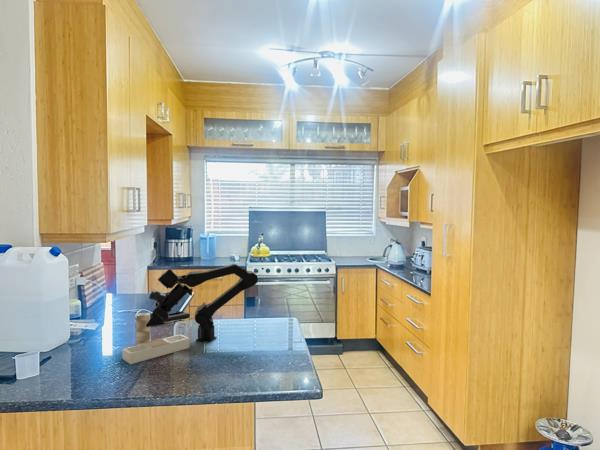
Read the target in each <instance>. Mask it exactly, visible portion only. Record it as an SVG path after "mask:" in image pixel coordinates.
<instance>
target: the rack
mask: <svg viewBox="0 0 600 450" xmlns="http://www.w3.org/2000/svg"><path fill="white" fill-rule="evenodd" d="M189 348H190V337H188V336H185V335H183V334H181V333H180V334H176V335H171V336H168V337H164V338H162V337H160V338H157V339H156V338H155V339H151V341H148V342H144V343H143V344H139V345H137V344H136V345H135V344H134V345H132V346H128V347H124V348H122V349H121V350H122V352H121V353H122V357H121V359H122V360H124V361H125V362H126V363H128V364H129V365H134V364H137V363H140V362H144V361H147V360H151V359H154V358H158V357H161V356H164V355H169V354H171V353H176V352H178V351H183V350H186V349H189Z"/></svg>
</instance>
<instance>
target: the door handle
mask: <svg viewBox="0 0 600 450" xmlns="http://www.w3.org/2000/svg"><path fill="white" fill-rule="evenodd" d="M190 317H191V314H190V312H185V311H181V310H179V311H175V312H171V313H169V317H168V318H167V319H166V320H165V321H162V322H159V323H157V324H154V325H153V326H156V325H162V324H169V323H172V322H173V323H174V322H180V321H181V320H186V319H189V318H190Z"/></svg>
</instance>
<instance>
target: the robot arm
mask: <svg viewBox="0 0 600 450" xmlns="http://www.w3.org/2000/svg"><path fill="white" fill-rule="evenodd" d="M230 275H235V276H237V277H238V278H239V279H238V280H237V281H236V282H235V284H233V285H232V286H231V287H229V288H228V289H227V290H225V291H224V292H223V293H221V295H219V296H218V297H216V298H215V299H214V300H212V301H211V302H209V303H207V304H206V302H203V303H202V304H201V305H200V306H197V307H196V310H195V312H194V320H195V323H196V324H198V325H197V326H198V328H197V338H196V339H195V340H196V342H197V341H198V342H203V343H210V342H213V341H214V340H215V339H217V338H218V337H217V336H215V325H214V318H213V316H214V315H215V313H216V312H217V311H218V310H219V309H221V308H222V307H223V306H225V305H226V304H227V303H228V302H230V301H231V300H233V298H234V297H236V296H238V294H240V293H241V292H243V291H245V290H248V289H250V288H252V287H253V286H256V285H257V283H258V282H259V281H258V279H259V278H258V275H257V274H256V273H255V272H254V271H252V270H246V269H245V268H242V267H241V266H239V265H238V264H237V263H230V264H229V265H228V264H227V265H225V266H221V267H217V268H213V269H209V270H205V271H203V270H197V271H195V270H194V271H189V272H188V273H186V274H183V275H177V274H176V273H175V272H174V271H173V270H172V269H171V268H168V269H167V270H165V272H162V274H161V275H160V276H159V277H158V279H157V281H158V282H159V283H160V284H161V285H162V286H163V287H165V288H166V289H167V290H168V289H171V290H170V291H168V292H166V293H164V292H162V291H159V290H157V289H154V288H153V289H152V290H151V292H150V294H149V295H148V299H150V300H153V301H156V303H155V307H154V309H153V310H152V313H150V320H149V322H148V323H147V324H146V326H147V327H150V328H151V327H152V326H155V325H154V324H157V323H159V322H162V321H165V320H166V319H167V318H168V317H169V314H170V312H171V311H172V309H173V308H174V307H176V306H177V305H179V302H180V301H181V300H182V299H183V298H184V297H185V296H187V294H188V295H189V296H190V297H191V296H193V288H195V287H197V286H199V285H201V284H203V283H205V282H207V281H209V280H215V279H218V278H222V277H225V276H230ZM157 325H158V324H157Z"/></svg>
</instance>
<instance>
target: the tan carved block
mask: <svg viewBox="0 0 600 450" xmlns="http://www.w3.org/2000/svg"><path fill="white" fill-rule="evenodd" d="M150 316H151V312H141V313H139V312H138V313H137V314H136V316H135V318H136V319H135V321H136V324H135V325H136V328H135V329H136V345H139V344H143V343H144V342H148V341H152V339H151V337H152V336H151V326H150V327H147V326H146V324H147V323H148V322H149V320H150Z"/></svg>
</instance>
